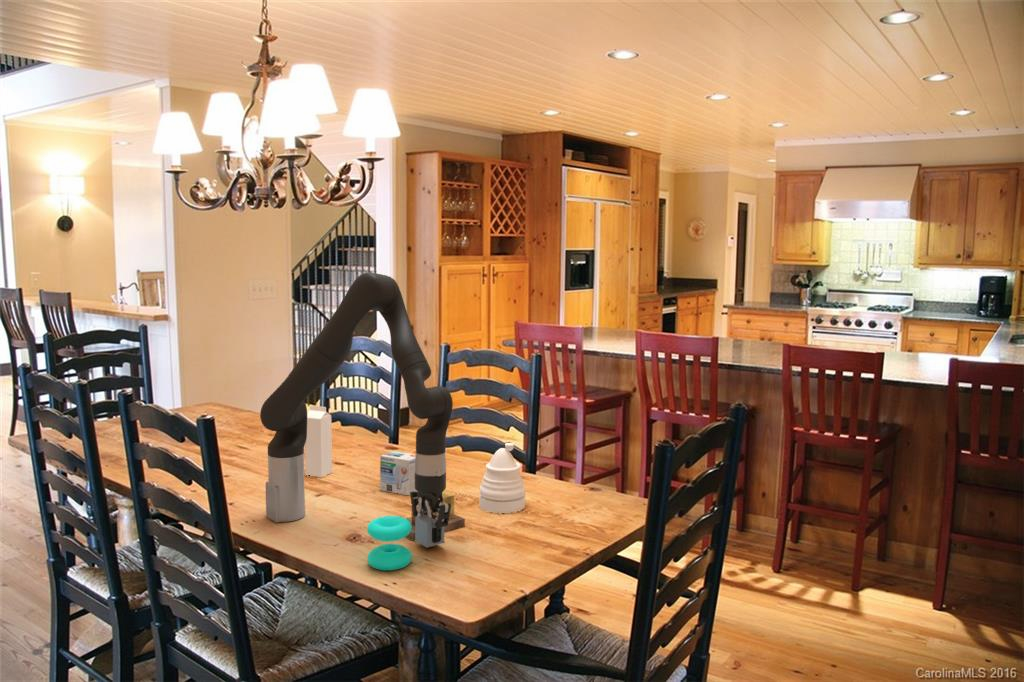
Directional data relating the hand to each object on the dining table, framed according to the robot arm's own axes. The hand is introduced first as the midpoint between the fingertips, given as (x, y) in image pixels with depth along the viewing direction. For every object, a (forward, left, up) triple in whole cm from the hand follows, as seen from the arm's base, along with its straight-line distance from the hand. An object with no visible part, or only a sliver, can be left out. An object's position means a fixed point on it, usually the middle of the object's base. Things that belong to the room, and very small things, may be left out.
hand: (429, 538), depth 188 cm
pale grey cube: (0, 0, -1) cm, 1 cm away
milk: (+8, +72, -2) cm, 72 cm away
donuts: (-13, -2, -2) cm, 13 cm away
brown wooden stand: (+7, +11, -2) cm, 13 cm away
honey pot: (+33, +12, -2) cm, 35 cm away
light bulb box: (+19, +42, -2) cm, 46 cm away
